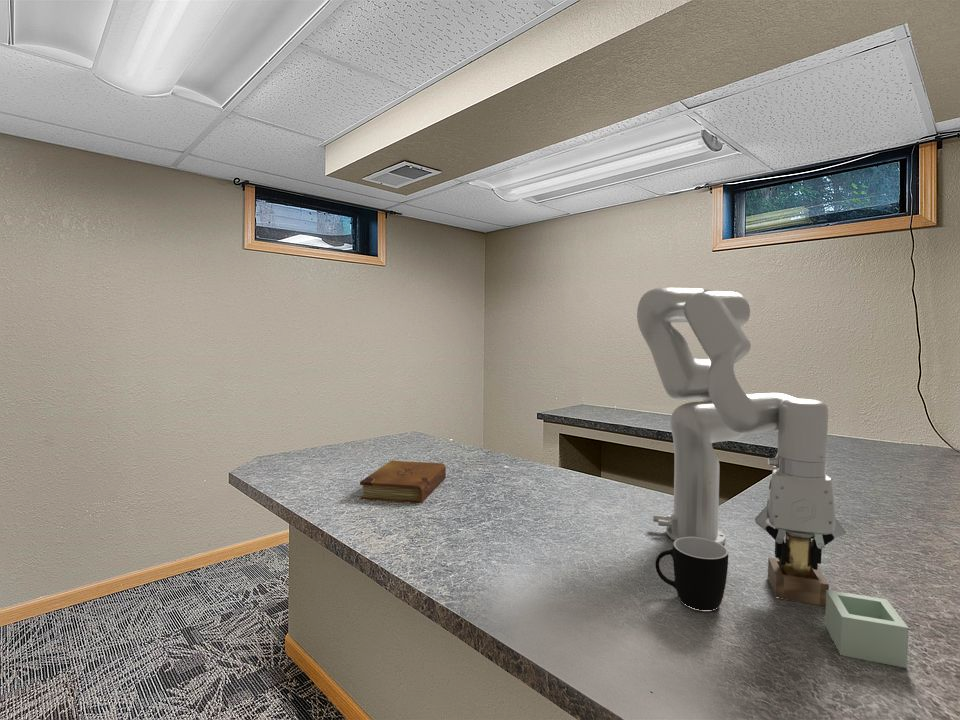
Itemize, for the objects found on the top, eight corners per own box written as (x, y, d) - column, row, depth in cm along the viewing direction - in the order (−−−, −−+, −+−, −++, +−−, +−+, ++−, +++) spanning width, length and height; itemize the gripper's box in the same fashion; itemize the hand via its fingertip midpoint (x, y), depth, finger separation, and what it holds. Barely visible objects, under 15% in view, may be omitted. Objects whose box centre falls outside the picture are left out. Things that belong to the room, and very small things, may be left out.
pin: (783, 595, 91) (785, 531, 90) (778, 582, 96) (780, 521, 95) (815, 600, 89) (818, 535, 89) (808, 586, 94) (810, 524, 93)
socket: (840, 655, 75) (841, 616, 74) (825, 625, 82) (826, 589, 82) (906, 668, 72) (908, 627, 71) (884, 635, 79) (886, 599, 79)
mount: (775, 597, 90) (776, 576, 90) (767, 577, 98) (768, 557, 97) (827, 606, 87) (828, 584, 87) (815, 584, 95) (816, 563, 95)
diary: (422, 506, 140) (421, 486, 139) (360, 501, 144) (359, 481, 143) (445, 480, 162) (445, 462, 161) (391, 476, 166) (391, 459, 166)
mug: (727, 596, 91) (729, 542, 90) (725, 622, 83) (727, 563, 82) (658, 580, 97) (659, 529, 96) (650, 603, 89) (651, 548, 88)
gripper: (751, 468, 90) (748, 565, 92) (864, 477, 84) (859, 582, 86) (746, 457, 97) (743, 548, 99) (849, 465, 91) (845, 562, 93)
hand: (797, 563), depth 92 cm, fingers open, 4 cm apart
